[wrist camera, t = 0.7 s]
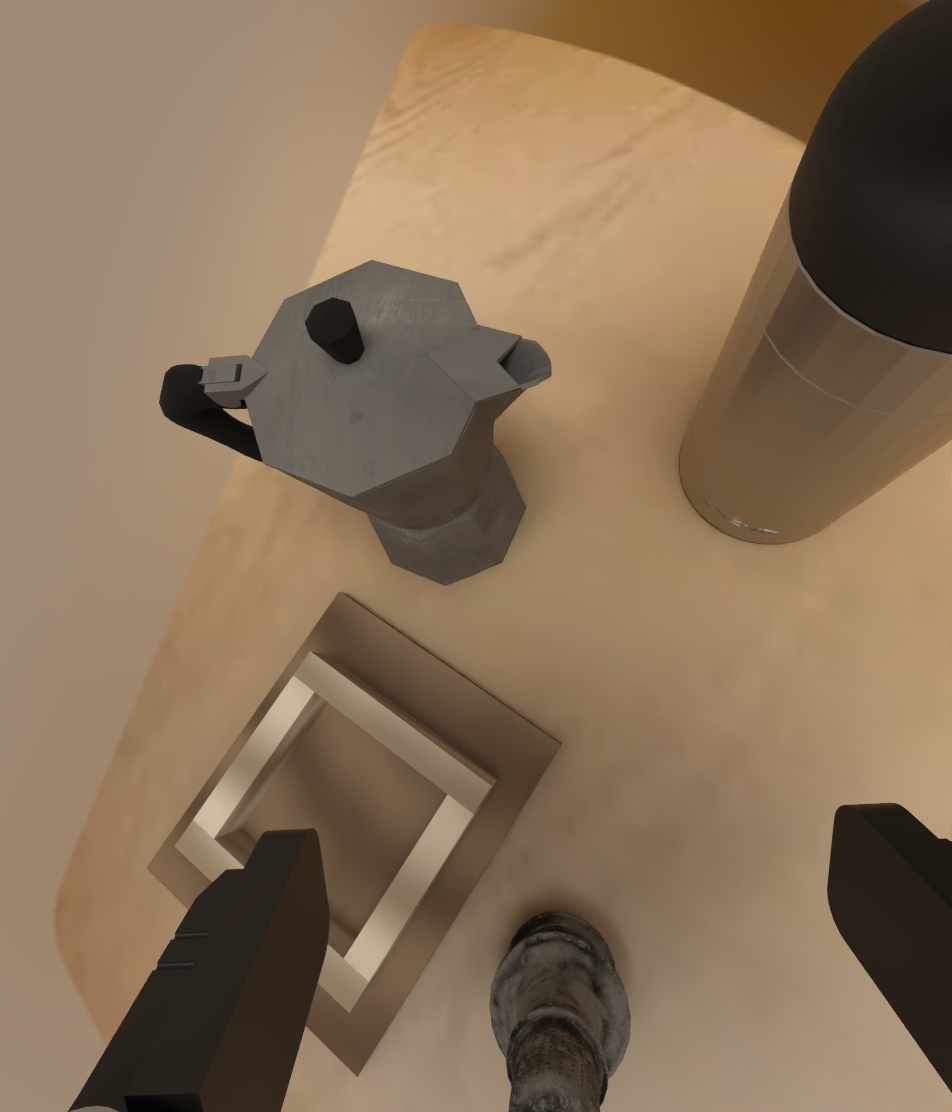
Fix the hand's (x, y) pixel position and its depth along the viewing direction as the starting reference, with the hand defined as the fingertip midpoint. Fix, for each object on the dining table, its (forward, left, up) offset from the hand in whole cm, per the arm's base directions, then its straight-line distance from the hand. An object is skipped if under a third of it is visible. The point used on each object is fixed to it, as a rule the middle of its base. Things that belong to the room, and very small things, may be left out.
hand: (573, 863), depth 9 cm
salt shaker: (+9, +5, -22) cm, 24 cm away
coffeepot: (-7, -14, -22) cm, 27 cm away
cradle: (+9, -8, -22) cm, 25 cm away
